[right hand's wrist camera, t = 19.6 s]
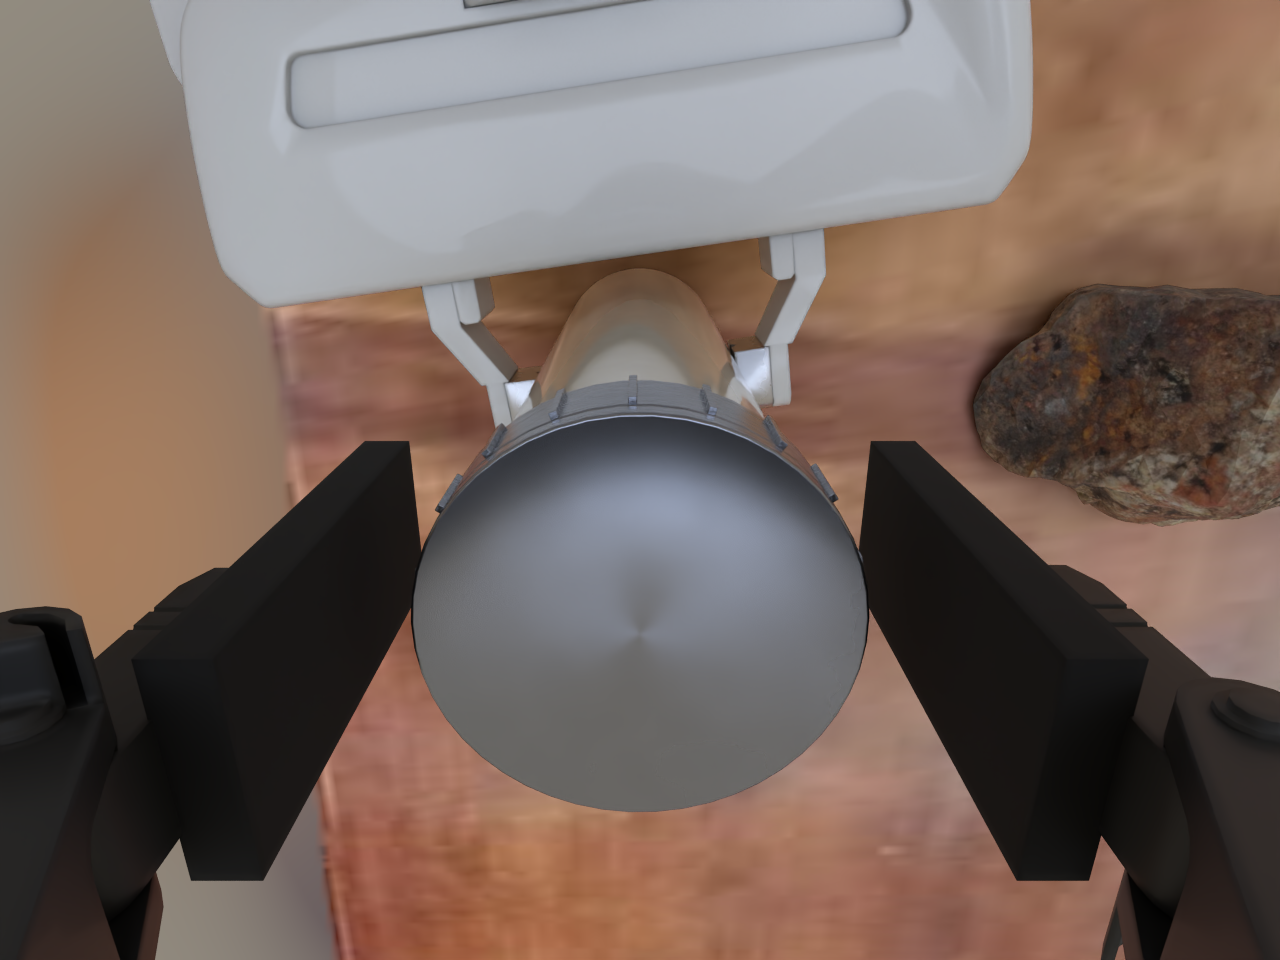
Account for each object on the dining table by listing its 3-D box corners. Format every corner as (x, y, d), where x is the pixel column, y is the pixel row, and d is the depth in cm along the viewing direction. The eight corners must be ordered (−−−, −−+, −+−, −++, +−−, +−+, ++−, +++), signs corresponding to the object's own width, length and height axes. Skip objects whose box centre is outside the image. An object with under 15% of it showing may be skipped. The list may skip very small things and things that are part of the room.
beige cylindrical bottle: (604, 439, 30) (553, 803, 12) (539, 307, 28) (370, 512, 10) (737, 381, 29) (886, 682, 11) (678, 241, 27) (749, 344, 10)
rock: (1027, 208, 27) (937, 470, 31) (1162, 211, 19) (1019, 565, 23) (1434, 291, 27) (1298, 544, 31) (1742, 330, 19) (1510, 668, 23)
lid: (873, 385, 11) (915, 420, 9) (815, 746, 13) (840, 826, 11) (429, 362, 11) (392, 394, 9) (445, 730, 13) (418, 808, 11)
